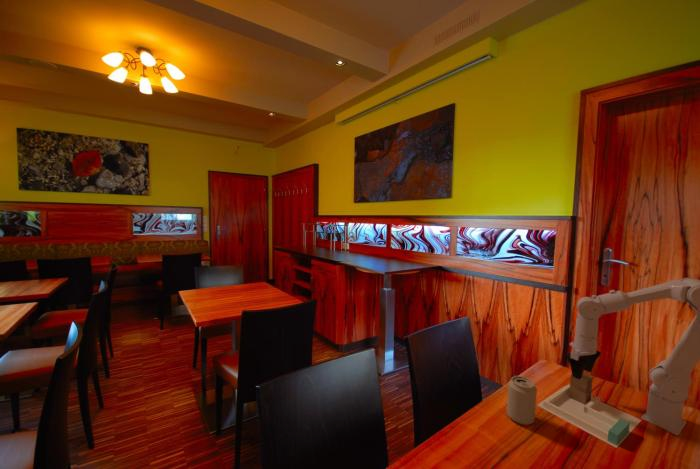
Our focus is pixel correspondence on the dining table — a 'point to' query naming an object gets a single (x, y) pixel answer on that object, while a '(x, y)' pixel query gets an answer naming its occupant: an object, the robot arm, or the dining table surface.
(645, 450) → the dining table surface
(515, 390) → the can
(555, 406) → the white tray
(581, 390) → the brown rectangular block
